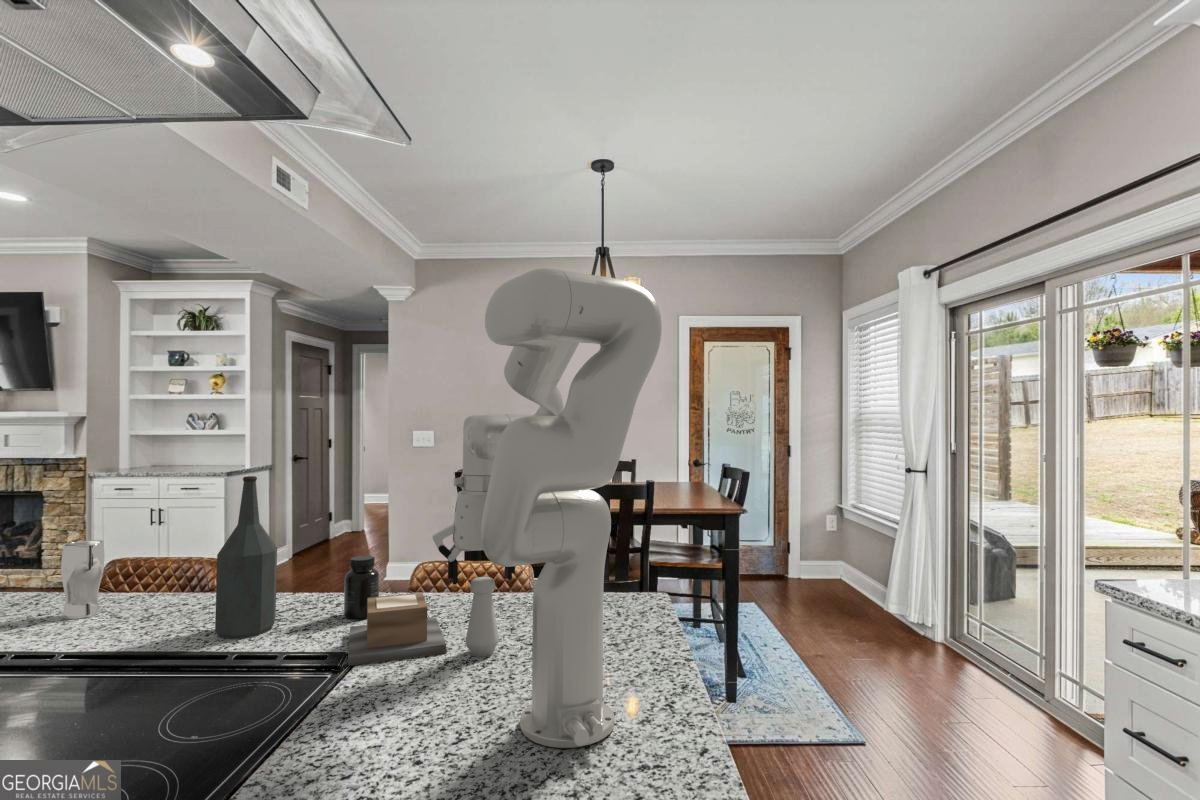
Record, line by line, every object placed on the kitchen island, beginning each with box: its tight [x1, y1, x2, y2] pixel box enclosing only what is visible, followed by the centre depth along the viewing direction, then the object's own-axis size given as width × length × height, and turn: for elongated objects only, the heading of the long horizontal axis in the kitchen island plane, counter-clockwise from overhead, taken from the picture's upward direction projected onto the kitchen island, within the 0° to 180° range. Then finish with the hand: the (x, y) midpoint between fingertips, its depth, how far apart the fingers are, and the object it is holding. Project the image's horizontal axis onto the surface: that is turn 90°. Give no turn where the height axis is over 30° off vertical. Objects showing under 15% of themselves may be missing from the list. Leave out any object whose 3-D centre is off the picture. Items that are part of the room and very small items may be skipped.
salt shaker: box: [465, 576, 500, 658], centre depth 107 cm, size 6×6×13 cm
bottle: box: [214, 475, 278, 640], centre depth 119 cm, size 10×10×30 cm
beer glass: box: [60, 539, 105, 620], centre depth 128 cm, size 7×7×15 cm
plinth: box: [347, 592, 447, 667], centre depth 112 cm, size 16×16×8 cm
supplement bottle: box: [343, 555, 380, 621], centre depth 128 cm, size 7×7×12 cm
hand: (481, 580), depth 108 cm, fingers open, 9 cm apart
